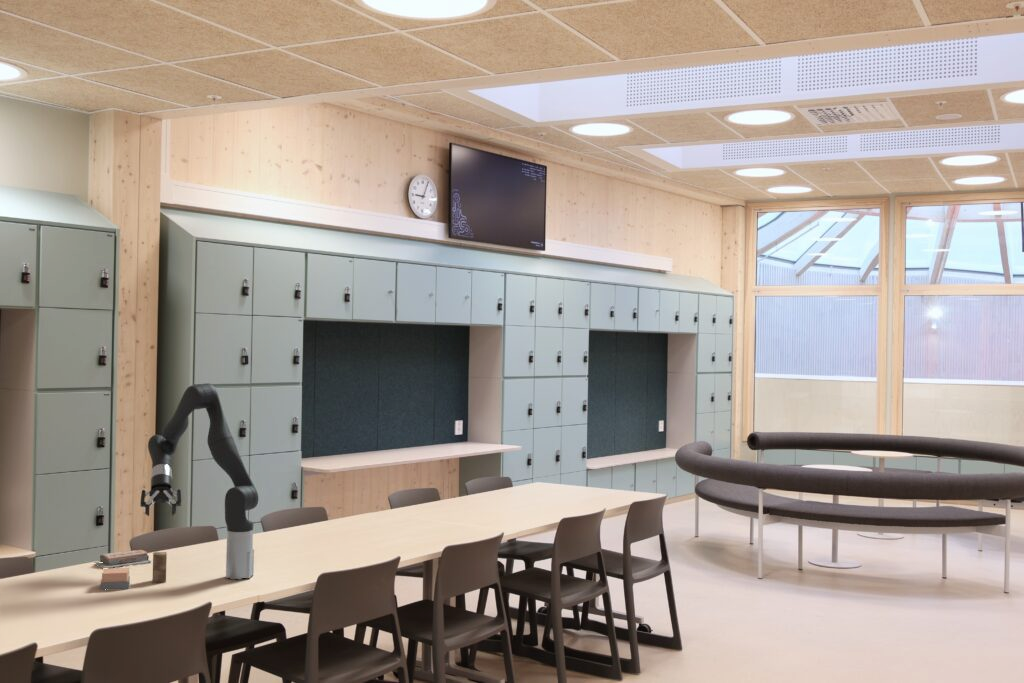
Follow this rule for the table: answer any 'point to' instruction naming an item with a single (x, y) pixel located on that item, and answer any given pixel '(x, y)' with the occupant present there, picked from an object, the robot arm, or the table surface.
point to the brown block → (159, 567)
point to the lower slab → (115, 585)
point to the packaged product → (123, 559)
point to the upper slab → (115, 575)
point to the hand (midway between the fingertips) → (160, 514)
